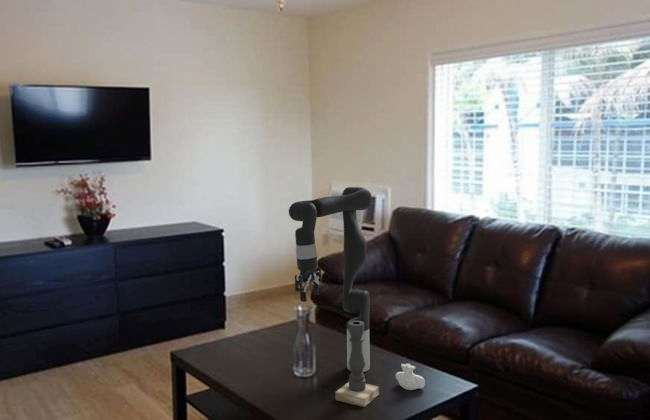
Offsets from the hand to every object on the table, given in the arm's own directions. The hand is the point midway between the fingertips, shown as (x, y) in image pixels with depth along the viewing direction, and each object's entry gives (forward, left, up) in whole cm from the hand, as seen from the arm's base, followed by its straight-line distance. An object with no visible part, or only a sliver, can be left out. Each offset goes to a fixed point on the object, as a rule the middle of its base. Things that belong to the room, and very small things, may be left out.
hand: (310, 298), depth 221 cm
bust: (-19, +32, -37) cm, 52 cm away
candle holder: (-4, +17, -34) cm, 38 cm away
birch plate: (-3, +18, -36) cm, 41 cm away
